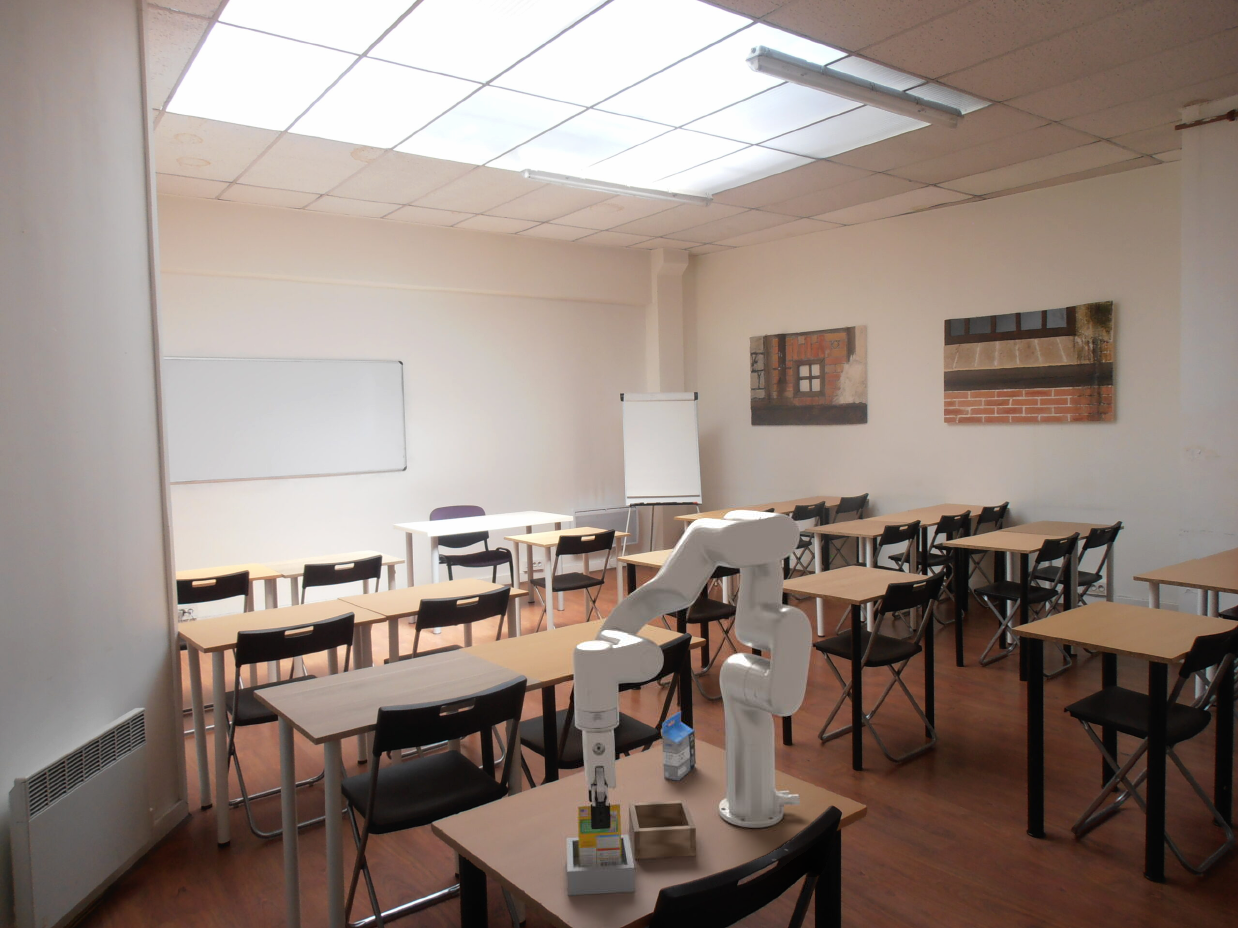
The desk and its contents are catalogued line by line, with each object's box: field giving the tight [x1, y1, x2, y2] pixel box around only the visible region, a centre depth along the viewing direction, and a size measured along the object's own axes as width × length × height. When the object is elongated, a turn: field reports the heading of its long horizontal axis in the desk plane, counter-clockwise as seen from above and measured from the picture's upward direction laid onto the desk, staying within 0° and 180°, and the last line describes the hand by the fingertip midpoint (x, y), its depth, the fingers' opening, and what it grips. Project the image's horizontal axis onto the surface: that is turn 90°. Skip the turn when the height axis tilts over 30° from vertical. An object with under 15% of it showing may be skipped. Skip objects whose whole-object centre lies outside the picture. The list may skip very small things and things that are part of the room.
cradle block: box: [566, 834, 636, 896], centre depth 137 cm, size 11×11×4 cm
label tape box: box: [661, 710, 697, 781], centre depth 178 cm, size 9×4×12 cm, turn 149°
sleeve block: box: [628, 799, 697, 860], centre depth 148 cm, size 11×11×5 cm
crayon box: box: [577, 803, 622, 868], centre depth 137 cm, size 7×3×12 cm, turn 94°
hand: (599, 813), depth 137 cm, fingers open, 9 cm apart
